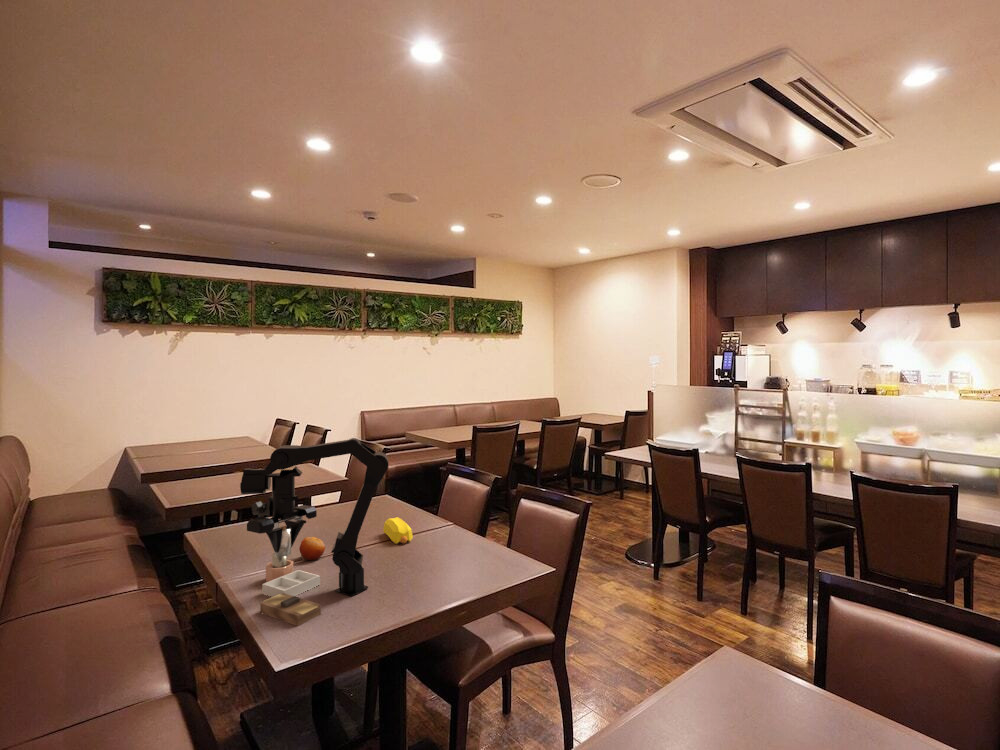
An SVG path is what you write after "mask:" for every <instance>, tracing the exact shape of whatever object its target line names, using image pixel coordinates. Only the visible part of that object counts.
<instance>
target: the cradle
mask: <svg viewBox="0 0 1000 750" xmlns="http://www.w3.org/2000/svg"><path fill="white" fill-rule="evenodd" d="M259 607H260V610H259V611H260V614H262V613H263V614H262V615H265V614H266V616H268V617H271V618H274V619H277V620H279V621H282V622H286V623H288V624H292V625H294V626H297V627H299V626H301V625H303V624H304V623H306V622H309V621H310V620H312V619H314V618H316V617H319V616H321V613H322V611H321V610H322V608H321V607H322V605H321V604H320V603H318V602H313V601H312V600H311V601H310V600H307V599H305V598H301V597H298V596H292V595H289V594H285V593H283V594H279V595H276V596H274V597H269V598H267V599H264V600H263V601H262V602H260V603H259Z"/></svg>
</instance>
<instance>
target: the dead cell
mask: <svg viewBox="0 0 1000 750" xmlns="http://www.w3.org/2000/svg"><path fill="white" fill-rule="evenodd" d="M271 557H272V558H271V560H272V561H271V562H272V568H282V567H285V566H287V560H288V556H285V557H276V556H275V552H274V553H272V555H271Z"/></svg>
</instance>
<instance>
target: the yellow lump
mask: <svg viewBox="0 0 1000 750" xmlns="http://www.w3.org/2000/svg"><path fill="white" fill-rule="evenodd" d="M382 532H383V533H384V534H385V535H387V537H388V538H389V539H390V540H391V541H392V542H393V543H394V544H395V545H397V544H398V543H400V544H401V543H402V544H405V543H407V542H408V543H410V542H411V541H412V540H413V538H414V537H413V536H414V535H413V529H412V528H411V527H410V526H409V524H408V523H406V521H404V520H403V518H400V517H398V516H396V517H394V518H393V517H392V518H389V517H388V519H386V520H385V522H384V524H383V530H382Z"/></svg>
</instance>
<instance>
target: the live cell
mask: <svg viewBox="0 0 1000 750" xmlns="http://www.w3.org/2000/svg"><path fill="white" fill-rule="evenodd" d="M279 528H282V529H283V530H282V537H281V543H280V549H279V552H278V553H276V552H275V551H274V553H275V556H276V557H285V556H287V557H288V556H291V555H292V548H291V527H287V526H286V525H282V526H279Z"/></svg>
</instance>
